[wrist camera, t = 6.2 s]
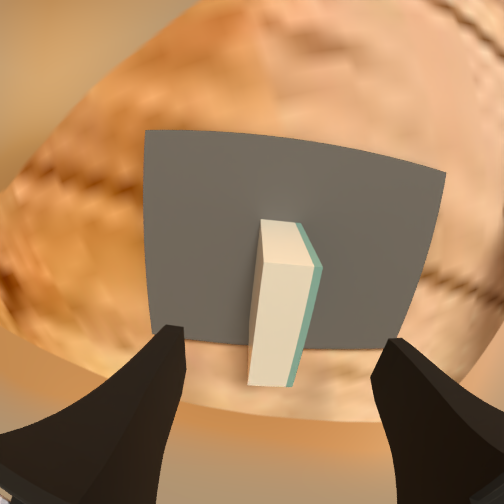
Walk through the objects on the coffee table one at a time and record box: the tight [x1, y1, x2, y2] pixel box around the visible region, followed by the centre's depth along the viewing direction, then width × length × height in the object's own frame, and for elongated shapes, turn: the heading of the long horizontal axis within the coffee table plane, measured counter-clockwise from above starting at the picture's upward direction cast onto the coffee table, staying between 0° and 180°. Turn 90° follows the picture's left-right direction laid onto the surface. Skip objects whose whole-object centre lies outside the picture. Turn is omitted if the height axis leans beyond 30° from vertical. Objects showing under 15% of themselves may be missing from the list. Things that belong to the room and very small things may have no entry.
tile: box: [248, 219, 323, 387], centre depth 13 cm, size 2×6×5 cm, turn 174°
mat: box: [143, 130, 446, 349], centre depth 15 cm, size 16×12×1 cm
